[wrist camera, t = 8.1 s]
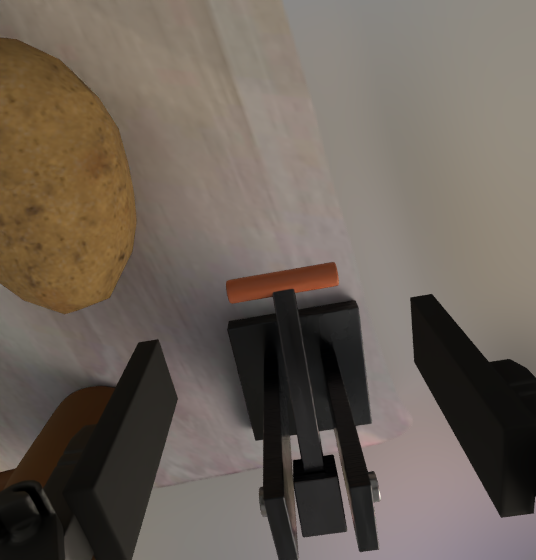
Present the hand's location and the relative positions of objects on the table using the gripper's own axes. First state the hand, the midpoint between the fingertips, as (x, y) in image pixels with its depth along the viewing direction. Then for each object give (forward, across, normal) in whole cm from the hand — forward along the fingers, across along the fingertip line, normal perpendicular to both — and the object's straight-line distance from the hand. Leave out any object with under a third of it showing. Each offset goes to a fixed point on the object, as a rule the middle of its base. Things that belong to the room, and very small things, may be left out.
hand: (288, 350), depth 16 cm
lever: (+5, 0, -6) cm, 8 cm away
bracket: (+14, 0, -10) cm, 17 cm away
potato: (+14, -12, +6) cm, 19 cm away
